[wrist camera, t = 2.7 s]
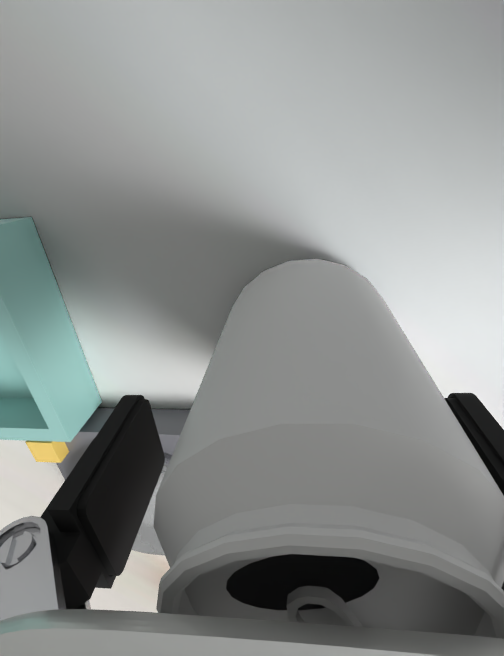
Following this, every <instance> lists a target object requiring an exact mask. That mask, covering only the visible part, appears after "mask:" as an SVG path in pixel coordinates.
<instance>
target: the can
mask: <svg viewBox="0 0 504 656" xmlns="http://www.w3.org/2000/svg"><path fill="white" fill-rule="evenodd" d="M153 527H154V529H155V532H156V534H157V537H158V539H159V541H160V544H161V546H162V549H163V551H164V554H165V556H166V558H167V561H168V563H169V566H170V569H169V570H168V571H167V572H166V573H165V574H164V576H163V577H162V578H161V581H160V584H159V592H158V600H157V611H158V613H167V614H183V615H198V616H213V617H228V618H243V619H257V620H271V621H285V622H299V623H313V624H327V625H341V626H355V627H368V628H381V629H394V630H407V631H420V632H433V633H446V634H459V635H470V636H481V637H491V638H502V639H504V591H503V590H502V589H501V587H502V584H503V582H504V495H503V494H502V492H501V490H500V489H499V487H498V485H497V484H496V482H495V481H494V479H493V477H492V476H491V474H490V472H489V471H488V469H487V468H486V466H485V464H484V463H483V461H482V459H481V458H480V456H479V454H478V453H477V451H476V450H475V448H474V446H473V445H472V443H471V441H470V440H469V438H468V437H467V435H466V433H465V432H464V430H463V428H462V427H461V425H460V424H459V422H458V420H457V419H456V417H455V415H454V414H453V412H452V410H451V409H450V407H449V406H448V404H447V402H446V401H445V399H444V397H443V396H442V394H441V393H440V391H439V389H438V388H437V386H436V384H435V383H434V381H433V379H432V378H431V376H430V375H429V373H428V371H427V370H426V368H425V366H424V365H423V363H422V362H421V360H420V358H419V357H418V355H417V353H416V352H415V350H414V348H413V347H412V345H411V344H410V342H409V340H408V339H407V337H406V335H405V334H404V332H403V331H402V329H401V327H400V326H399V324H398V322H397V321H396V319H395V317H394V316H393V314H392V313H391V311H390V309H389V308H388V306H387V304H386V303H385V301H384V300H383V298H382V297H381V296H380V294H379V293H378V292H377V290H376V289H375V288H374V287H373V285H372V284H371V283H370V282H369V280H368V279H367V278H365V277H363V276H362V275H360V274H359V273H357V272H355V271H354V270H352V269H350V268H349V267H347V266H345V265H343V264H339V263H334V262H330V261H326V260H321V259H305V260H293V261H287V262H284V263H282V264H280V265H277V266H275V267H272V268H270V269H267V270H265V271H263V272H262V273H260V274H259V275H258V276H257V277H256V278H254V279H253V280H252V281H251V282H250V283H249V284H247V285H246V286H245V287H244V288H243V290H242V291H241V293H240V295H239V296H238V298H237V300H236V301H235V303H234V305H233V306H232V308H231V311H230V313H229V316H228V318H227V321H226V323H225V326H224V328H223V331H222V333H221V336H220V338H219V340H218V343H217V345H216V348H215V350H214V353H213V355H212V358H211V360H210V363H209V365H208V368H207V370H206V373H205V375H204V378H203V380H202V383H201V385H200V388H199V390H198V392H197V395H196V397H195V400H194V402H193V405H192V407H191V410H190V412H189V415H188V417H187V420H186V422H185V425H184V427H183V430H182V432H181V435H180V437H179V440H178V442H177V445H176V447H175V449H174V452H173V454H172V457H171V459H170V462H169V464H168V467H167V469H166V472H165V474H164V477H163V479H162V482H161V484H160V487H159V489H158V492H157V494H156V501H155V513H154V525H153Z"/></svg>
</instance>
